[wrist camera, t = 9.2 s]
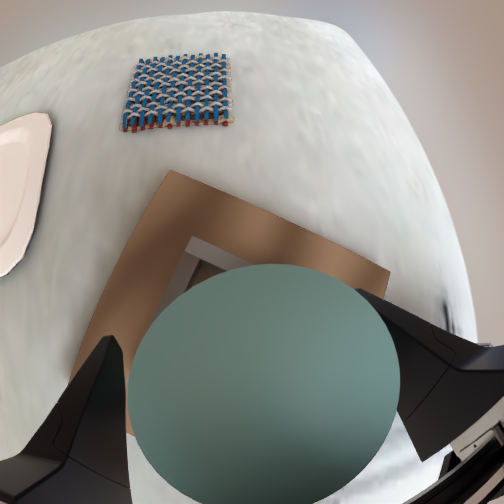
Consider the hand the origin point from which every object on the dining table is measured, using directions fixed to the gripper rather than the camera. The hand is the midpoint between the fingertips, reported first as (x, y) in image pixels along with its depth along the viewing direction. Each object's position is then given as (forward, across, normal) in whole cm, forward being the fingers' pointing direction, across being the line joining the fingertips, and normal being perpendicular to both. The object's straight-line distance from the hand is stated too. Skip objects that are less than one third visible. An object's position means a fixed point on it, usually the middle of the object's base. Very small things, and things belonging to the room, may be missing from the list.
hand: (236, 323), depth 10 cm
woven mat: (+22, +1, -8) cm, 24 cm away
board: (+5, 0, +7) cm, 9 cm away
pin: (+4, 0, +6) cm, 8 cm away
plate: (+17, +23, -4) cm, 29 cm away
